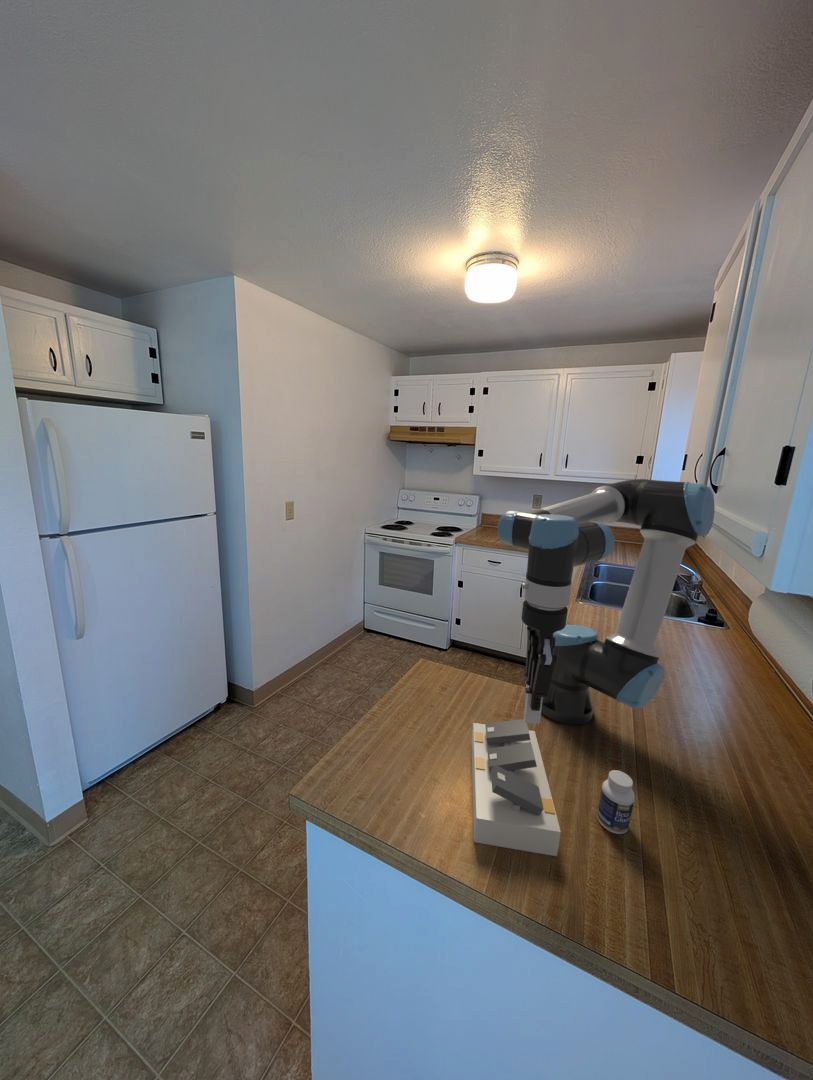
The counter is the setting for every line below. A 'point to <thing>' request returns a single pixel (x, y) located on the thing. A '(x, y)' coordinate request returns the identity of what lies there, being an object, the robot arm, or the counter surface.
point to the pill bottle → (616, 802)
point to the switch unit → (511, 804)
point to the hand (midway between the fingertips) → (531, 720)
